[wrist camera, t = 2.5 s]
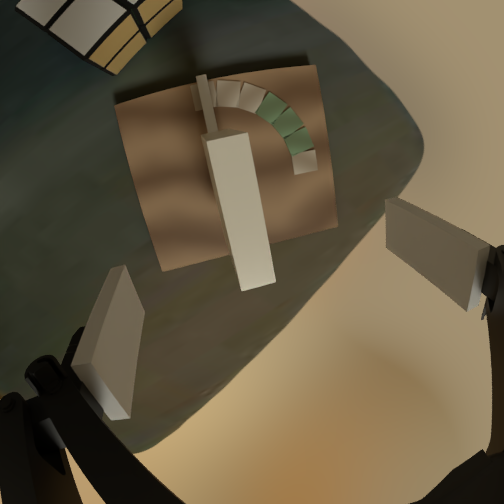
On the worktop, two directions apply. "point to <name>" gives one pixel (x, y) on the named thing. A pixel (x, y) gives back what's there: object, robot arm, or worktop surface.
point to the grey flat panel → (237, 197)
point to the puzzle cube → (101, 26)
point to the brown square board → (263, 152)
